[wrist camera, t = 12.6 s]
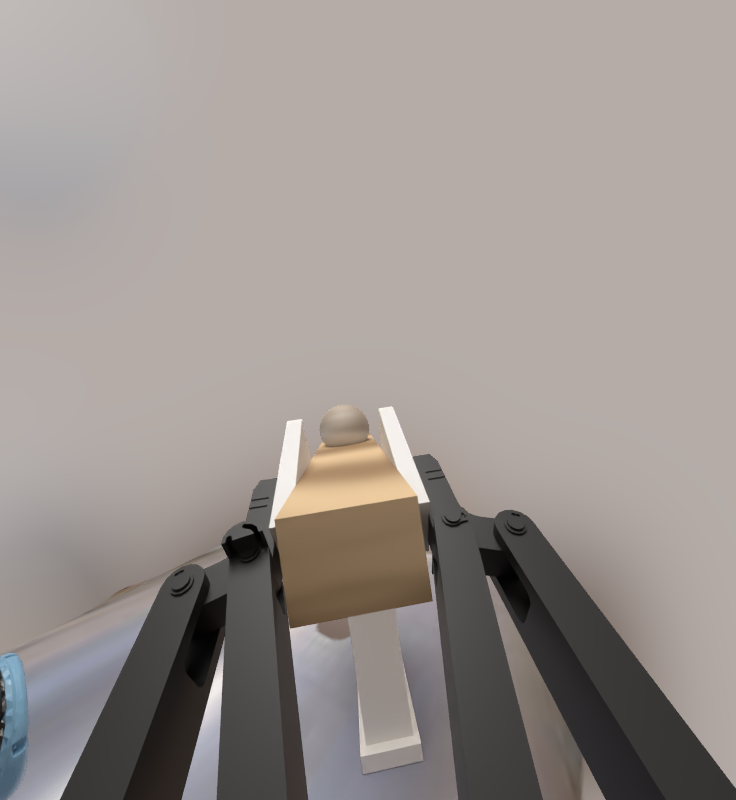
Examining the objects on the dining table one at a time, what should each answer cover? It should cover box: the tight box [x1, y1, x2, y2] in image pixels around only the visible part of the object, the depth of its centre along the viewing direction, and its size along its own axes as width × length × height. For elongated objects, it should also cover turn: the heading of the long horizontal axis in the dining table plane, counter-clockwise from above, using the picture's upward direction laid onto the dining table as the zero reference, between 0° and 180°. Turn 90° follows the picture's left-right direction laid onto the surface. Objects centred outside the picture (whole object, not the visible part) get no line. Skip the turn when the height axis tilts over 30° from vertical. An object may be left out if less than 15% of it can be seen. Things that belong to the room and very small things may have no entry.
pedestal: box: [348, 608, 424, 775], centre depth 43 cm, size 15×7×30 cm, turn 4°
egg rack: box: [274, 404, 433, 628], centre depth 21 cm, size 24×4×6 cm, turn 4°
